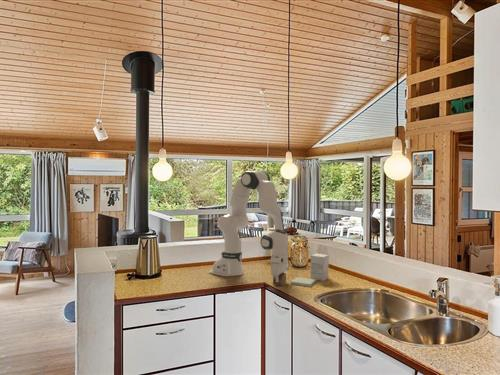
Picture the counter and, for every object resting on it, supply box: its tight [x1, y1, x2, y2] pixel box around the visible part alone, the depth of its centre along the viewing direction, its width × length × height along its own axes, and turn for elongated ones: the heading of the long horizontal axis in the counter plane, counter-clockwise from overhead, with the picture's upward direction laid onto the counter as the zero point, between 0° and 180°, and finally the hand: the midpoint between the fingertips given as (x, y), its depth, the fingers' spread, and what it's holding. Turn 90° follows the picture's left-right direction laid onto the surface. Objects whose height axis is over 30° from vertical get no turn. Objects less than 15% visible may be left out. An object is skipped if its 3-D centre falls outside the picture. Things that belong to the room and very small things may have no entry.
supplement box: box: [309, 253, 330, 282], centre depth 249 cm, size 9×9×15 cm
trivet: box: [290, 276, 317, 288], centre depth 238 cm, size 12×12×2 cm
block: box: [272, 272, 287, 287], centre depth 234 cm, size 6×6×6 cm
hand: (279, 280), depth 234 cm, fingers closed on block, 6 cm apart
